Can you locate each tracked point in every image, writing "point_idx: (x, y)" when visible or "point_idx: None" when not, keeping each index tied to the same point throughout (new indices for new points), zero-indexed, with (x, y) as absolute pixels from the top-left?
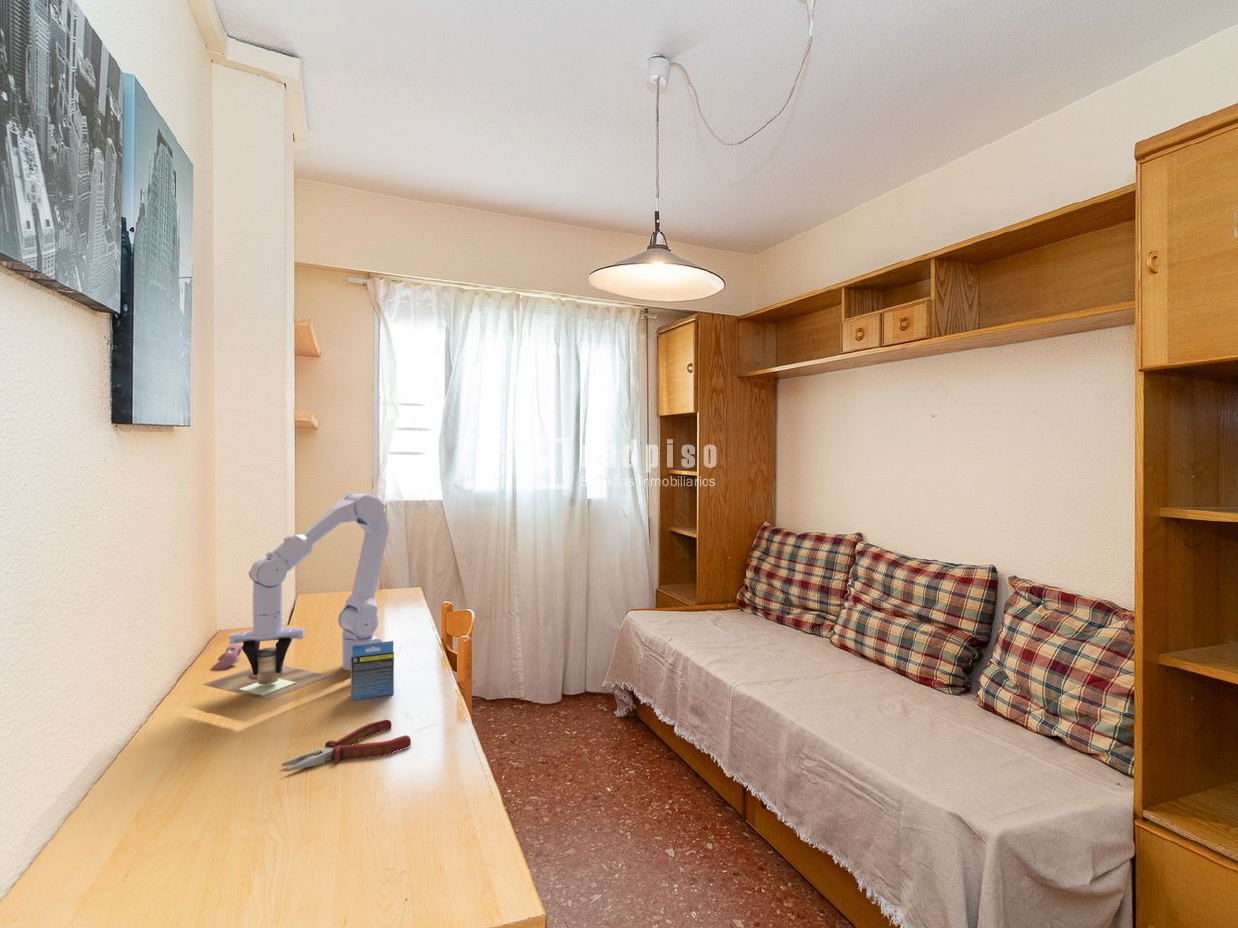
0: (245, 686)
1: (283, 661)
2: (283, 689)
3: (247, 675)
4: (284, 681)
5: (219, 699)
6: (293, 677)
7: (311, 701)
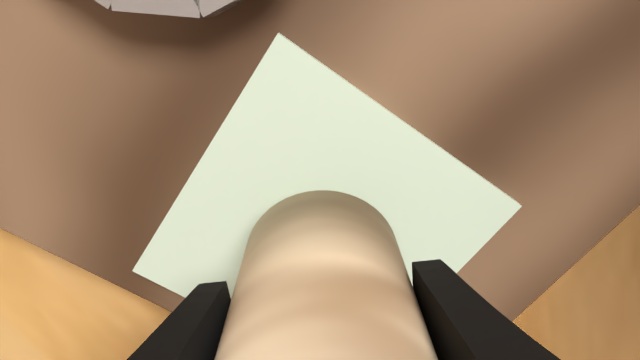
0: (141, 198)
1: (490, 304)
2: None
3: None
4: (425, 172)
5: (51, 256)
6: (471, 42)
7: (600, 355)
